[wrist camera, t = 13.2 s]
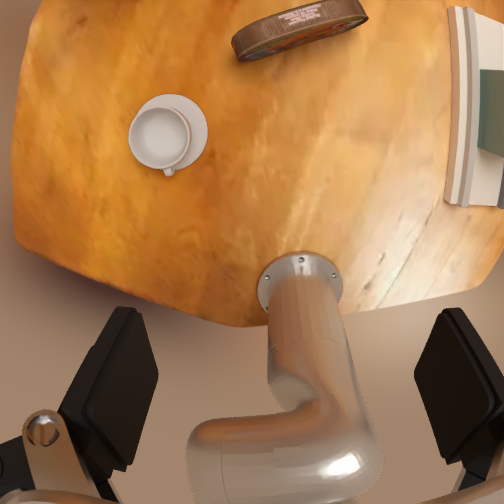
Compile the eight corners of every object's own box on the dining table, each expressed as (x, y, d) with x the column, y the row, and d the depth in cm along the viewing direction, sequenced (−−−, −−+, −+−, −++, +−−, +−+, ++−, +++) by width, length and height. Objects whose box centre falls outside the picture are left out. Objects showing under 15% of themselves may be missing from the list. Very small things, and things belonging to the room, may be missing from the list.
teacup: (127, 104, 35) (111, 106, 31) (201, 86, 34) (193, 86, 30) (142, 175, 40) (129, 186, 36) (214, 163, 39) (208, 173, 35)
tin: (242, 66, 33) (235, 59, 26) (231, 44, 32) (222, 32, 24) (358, 29, 30) (381, 16, 22) (348, 7, 28) (368, -11, 21)
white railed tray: (500, 201, 38) (511, 209, 36) (443, 198, 39) (454, 207, 36) (508, 30, 25) (521, 29, 22) (447, 7, 26) (459, 4, 23)
